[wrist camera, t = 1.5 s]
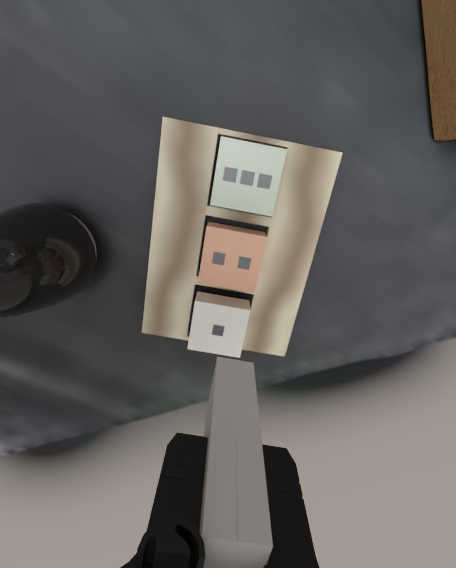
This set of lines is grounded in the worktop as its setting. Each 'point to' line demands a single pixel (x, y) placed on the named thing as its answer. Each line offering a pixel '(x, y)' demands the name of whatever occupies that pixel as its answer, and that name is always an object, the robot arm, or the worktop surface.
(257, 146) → the tile three
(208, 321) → the tile one
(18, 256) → the pump dispenser
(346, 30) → the worktop surface
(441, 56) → the bread
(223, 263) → the tile two
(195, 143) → the board
